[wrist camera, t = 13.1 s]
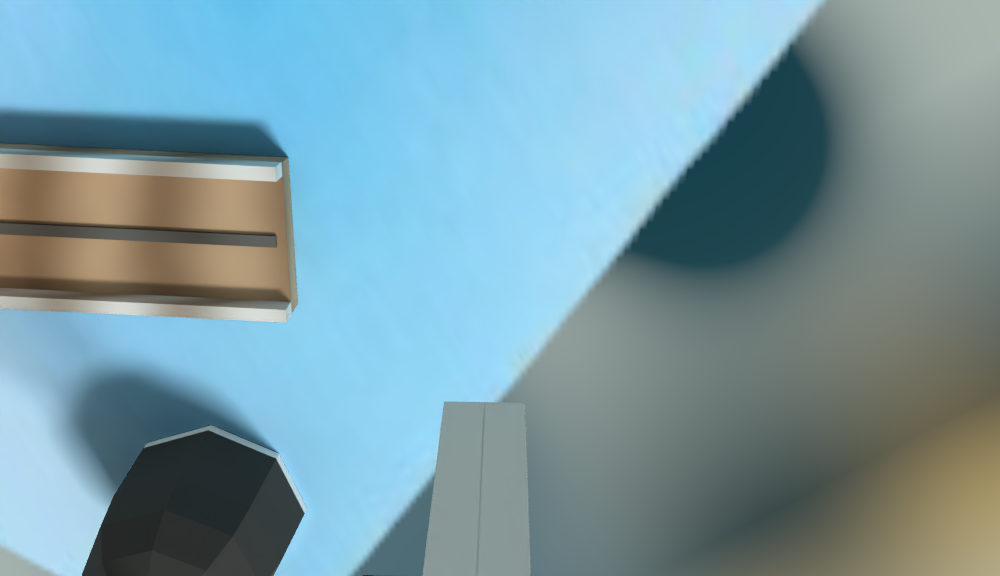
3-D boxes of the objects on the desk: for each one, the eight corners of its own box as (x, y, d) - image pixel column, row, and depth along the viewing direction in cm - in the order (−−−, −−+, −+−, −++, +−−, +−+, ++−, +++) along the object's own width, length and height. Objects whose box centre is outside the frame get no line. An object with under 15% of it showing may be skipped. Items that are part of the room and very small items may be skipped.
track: (287, 147, 37) (238, 186, 30) (298, 312, 41) (256, 379, 34) (-199, 123, 37) (-354, 157, 30) (-146, 290, 41) (-275, 353, 34)
